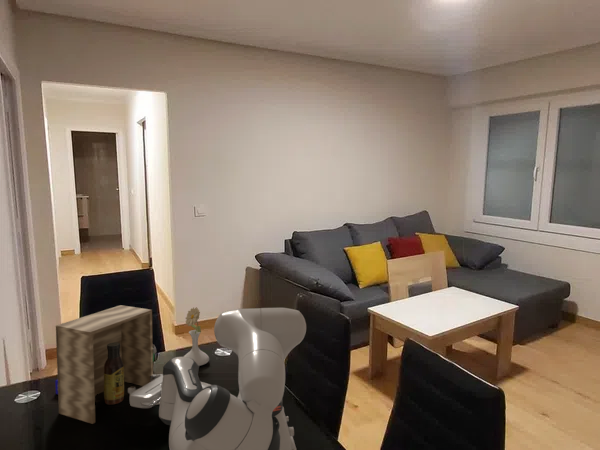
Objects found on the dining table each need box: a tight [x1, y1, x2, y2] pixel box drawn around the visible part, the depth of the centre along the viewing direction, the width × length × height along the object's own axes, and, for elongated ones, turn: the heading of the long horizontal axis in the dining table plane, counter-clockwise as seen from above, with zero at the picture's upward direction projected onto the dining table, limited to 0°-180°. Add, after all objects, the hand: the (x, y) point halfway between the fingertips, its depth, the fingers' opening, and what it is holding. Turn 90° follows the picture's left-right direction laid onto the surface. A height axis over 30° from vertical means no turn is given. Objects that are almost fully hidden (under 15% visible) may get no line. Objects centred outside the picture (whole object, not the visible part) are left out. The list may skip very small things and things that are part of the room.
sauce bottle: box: [103, 342, 125, 406], centre depth 137 cm, size 6×6×20 cm
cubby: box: [55, 304, 154, 425], centre depth 138 cm, size 15×26×29 cm, turn 157°
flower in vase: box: [183, 307, 210, 367], centre depth 167 cm, size 13×11×25 cm
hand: (140, 383), depth 132 cm, fingers open, 8 cm apart
